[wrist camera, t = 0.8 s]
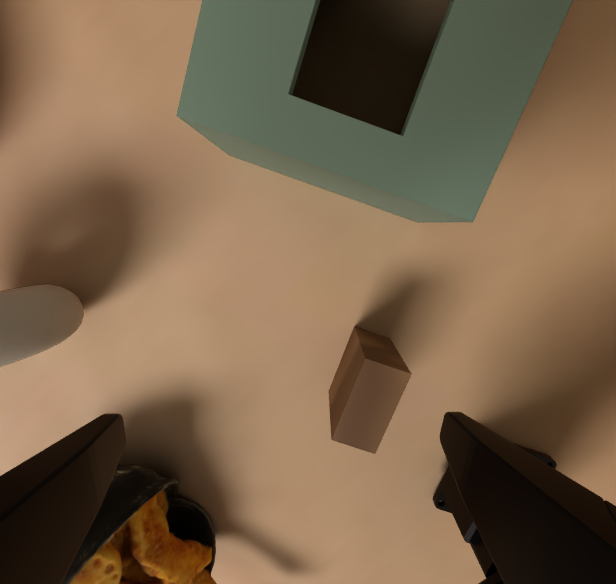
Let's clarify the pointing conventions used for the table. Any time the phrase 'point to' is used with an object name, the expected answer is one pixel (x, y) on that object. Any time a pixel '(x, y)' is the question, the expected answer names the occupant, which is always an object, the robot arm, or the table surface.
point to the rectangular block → (366, 390)
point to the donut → (36, 320)
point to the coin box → (357, 134)
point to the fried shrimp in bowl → (145, 535)
